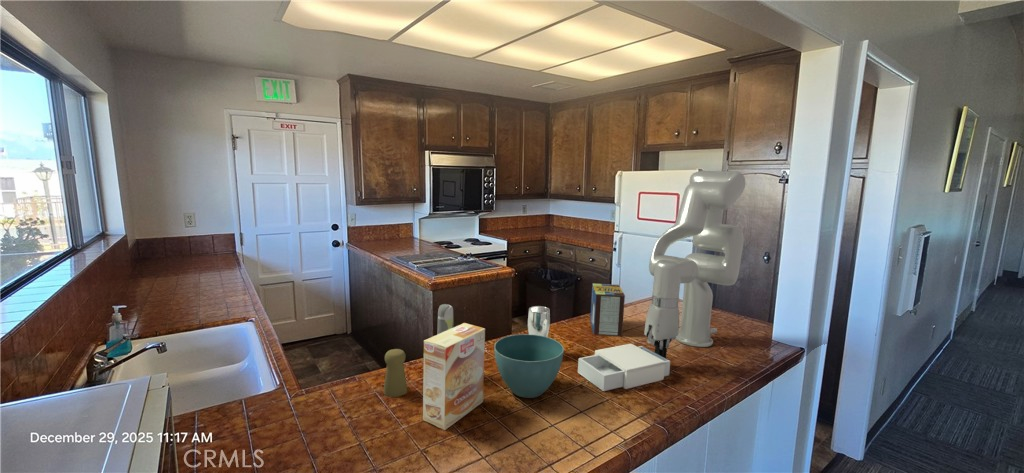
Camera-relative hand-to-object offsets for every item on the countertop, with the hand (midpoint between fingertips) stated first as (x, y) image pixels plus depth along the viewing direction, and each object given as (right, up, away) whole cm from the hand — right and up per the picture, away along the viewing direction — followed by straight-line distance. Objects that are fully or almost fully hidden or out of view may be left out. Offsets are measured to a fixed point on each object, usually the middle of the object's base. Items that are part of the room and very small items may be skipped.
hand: (659, 359), depth 131 cm
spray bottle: (-64, -2, -8) cm, 65 cm away
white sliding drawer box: (-13, -3, -6) cm, 14 cm away
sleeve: (-11, -3, -5) cm, 13 cm away
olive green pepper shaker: (-76, -3, -19) cm, 78 cm away
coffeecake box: (-59, -5, -28) cm, 65 cm away
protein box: (-10, +2, +32) cm, 34 cm away
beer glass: (-37, 0, +6) cm, 38 cm away
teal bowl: (-41, -4, -17) cm, 44 cm away
